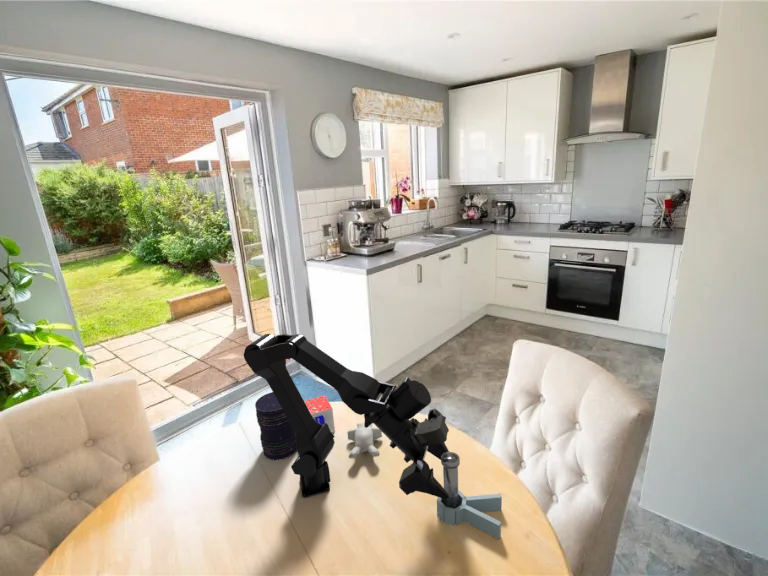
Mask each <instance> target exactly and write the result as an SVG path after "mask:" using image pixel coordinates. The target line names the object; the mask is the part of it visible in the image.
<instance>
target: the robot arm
mask: <svg viewBox="0 0 768 576" xmlns="http://www.w3.org/2000/svg"><path fill="white" fill-rule="evenodd" d="M243 358H244V361H245V362H246V364H247V365H248V367H249V368H250V370H251V371H252V372H253V373H254V374H256V375H257V376H259V377H260V378H262V379H264V380H265V381H266V382H267V384H268V386H269V387H270V389H271V391H272V392H273V393H274V395H275V397H276V398H277V400H278V402H279V404H280V406H281V408H282V409H283V411H284V413H285V415H286V417H287V418H288V420H289V422H290V424H291V426H292V427H293V429H294V431H295V433H296V449H297V451H296V453H297V454H298V456H297V458H296V459H295V461H294V462H293V463H292V464H291V465H290V468H291V470H292V472H293V474H294V475H297V476H299V483H300V489H301V496H302V498H308V497H311V496H314V495H317V494H321V493H325V492H328V491H330V490H331V489H330V488H331V487H330V482H331V474H330V467H329V464H328V461H327V460H326V459H327V458H328V456H329V455H330V453H331V452H332V450H333V448H334V445H335V439H334V438H335V434H334V433H333V432H332V433H331V431H330V429H329V426H328V424H326V423H325V424H323V425H322V424H320V423H318V422H316V421H315V420H314V419H313V417H312V415H311V413H310V411H309V409H308V408H307V406H306V404H305V402H304V401H305V400H304V399H303V396H302V395H301V393H300V391H299V389H298V387H297V385H296V384H295V381H294V380H293V378H292V377H291V375H290V373H289V371H288V369H287V360H289V359H292V360H294V361H295V362H297V364H300V366H302V367H304V368H305V369H306V370H307V371H309V372H310V373H312V374H314V375H315V376H316V377H317V378H319V379H320V380H322V381H323V382H324V383H326V384H328V385H329V386H330V387H332V388H333V390H335V391H336V392H337V393H338V395H339V397H340V400H341V401H342V402H343V403H344V404H345V405H346V406H347V408H349V409H350V410H351V411H352V412H353V413H355V414H357V415H360V416H363V417H364V422H363V423H364V427H365V428H367V427H369V426H370V425H371V424H372V425H375V426H376V428H379V429H380V430H381V431H382V434H384V436H386V437H387V439H388V440H390V443H389V447H390V448H392V449H395V448H398V450H399V451H401V453H403V454H404V457H403V460H404V461H405V463H409V462H411V461H412V463H410V464H409V465H408V466H407V467H405V468H404V469H403V470H402V473H401V475H400V479H399V481H398V485H399V489H400V490H401V491H402V492H403V493H404V494H405V495H406V496H408V495H410V494H413V493H415V492H418V493H423V494H428V495H430V496H434V497H437V498H438V497H440V498H443V499H448V498H449V494H448V493H447V492H446V490H445V489H444V486H442V484H441V483H440V482H439V481H438V480H437V479H436V478H435V477H434V468H433V467H432V468H430V466H429V463H428V462H427V461H425V459H426V455H427V452H428V453H429V454H431V455H432V456H434V457H436V458H437V459H439V460H440V461H441V456H442V454H443V453H445V452H450V451H449V449H448V446H447V445H446V441H447V439H448V433H449V431H450V429H449V428H448V425H447V423H446V420H447V417H446V416H445V415H443V414H442V412H440V411H439V410H438V409H436V408H432V409H429V412H428V413H427V414H428V415H427V418H426V417H425V419H424V421H421V422H420V421H419V420H418V419H417V418H414V417H415V416H416V415H417V414H419V413H420V412H422V410H423V409H425V408H427V407H428V406H429V405H430V404H431V402H432V397H431V394H430V391H429V390H428V388H427V387H426V386H425V384H423V383H422V382H419V381H417V380H413V379H410V378H409V377H404V379H402V381H401V382H400V383H399V384H398V385H395V384H392V383H388V382H384V381H381V380H380V381H379V380H377V379H376V378H374V377H372V376H371V375H369V374H366V373H365V372H361V371H357V370H356V371H355V370H351V369H349V368H348V367H346V366H344V365H343V364H342V363H340V362H339V361H337V360H336V359H334V358H333V357H332V356H330V355H329V354H327V352H324V351H323V350H322V349H320V348H319V347H317V346H316V345H314V344H313V343H311V342H310V341H308V339H307V337H306V336H305V335H302V334H301V333H300V334H286V333H283V334H276V335H275V334H272V333H265V334H263V335H262V336H260V337H258V338H257V339H255V340H254V341H253V342H251V343H250V344H248V345H246V347H245V348H244V352H243Z"/></svg>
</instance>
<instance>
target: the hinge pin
mask: <svg viewBox="0 0 768 576" xmlns="http://www.w3.org/2000/svg"><path fill="white" fill-rule="evenodd" d="M460 459H461V457H460V455H458V453H456V452H453V451H449V452H445V453H443V454H442V456H441V460H440V463H441V465H442V469H443V471H442V473H443V474H442V476H443V488H444V489H445V490H446V492H447V493H448V494H449V498H448V499H444V505H445V507H448V508H453V509H455V508H457V507H459V500H458V490H459V466H460V464H461V462H460V461H461V460H460Z"/></svg>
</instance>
